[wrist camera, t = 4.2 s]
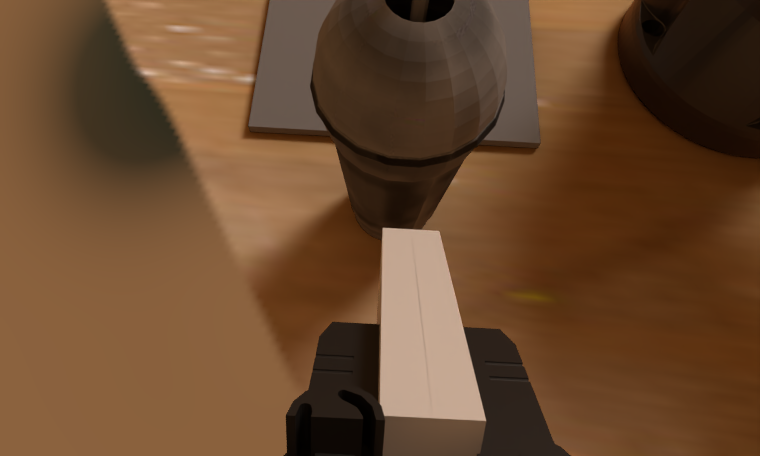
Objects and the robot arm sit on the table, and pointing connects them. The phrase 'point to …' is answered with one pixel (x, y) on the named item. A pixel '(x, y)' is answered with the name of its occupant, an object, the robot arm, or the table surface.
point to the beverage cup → (407, 99)
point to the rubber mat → (296, 57)
